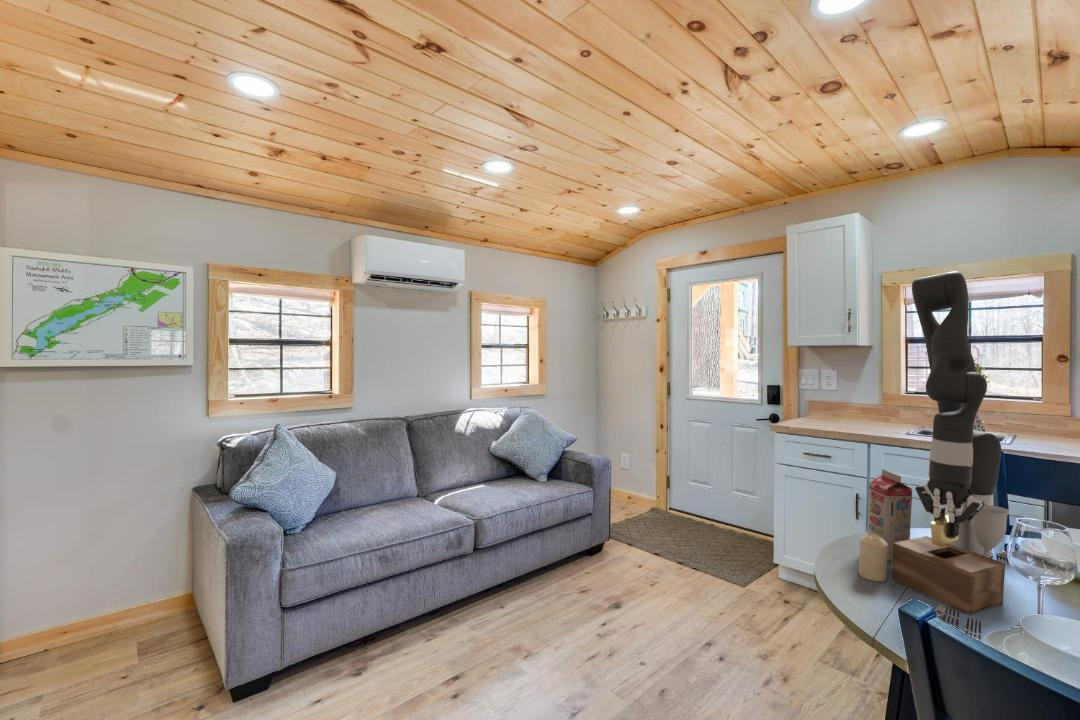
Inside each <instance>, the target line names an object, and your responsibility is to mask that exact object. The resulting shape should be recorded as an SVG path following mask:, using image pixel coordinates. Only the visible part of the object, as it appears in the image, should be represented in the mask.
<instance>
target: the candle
mask: <svg viewBox="0 0 1080 720" xmlns="http://www.w3.org/2000/svg"><path fill="white" fill-rule="evenodd" d="M859 540H860V541H859V542H860V544H859V559H858V560H859V561H858V564H859V565H858V575H860V577H861V578H863V579H866V580H868V581H872V582H877V583H878V582H885V581H886V579H887V569H888V568H887V566H888V561H887V552H888V544H887V543H886V542H885V541H884V540H883V539H882V538H881V537H879V536H877V535H876V534H867V533H866V535H864V536H862V537H861V538H860V539H859Z"/></svg>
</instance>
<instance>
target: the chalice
mask: <svg viewBox="0 0 1080 720" xmlns="http://www.w3.org/2000/svg"><path fill="white" fill-rule="evenodd" d="M1010 513H1011V510H1010V509H1007V508H1005V507H1001V506H997V505H994V504H993V505H987V504H985V505H984V507H983V508H982V509H981V510H980V511H979V512H978V513H977V514H976V515H975V516H974V517H973V518H972V519H971V527H972V530H973V533H974V535H975V537H976V539H977V541H978V543H979V545H981V546H982V547H984V553H983V554H982V556H985V557H988V558H991V559H992V556H991V552H989V551H990V548H991V549H995V548H996V547H997V546H998V545H999V544H1000V543H1001V542H1002V539H1003V538H1004V537H1005V534H1006V533H1007V525H1008V524H1007V522H1008V516H1009V514H1010Z"/></svg>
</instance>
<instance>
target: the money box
mask: <svg viewBox="0 0 1080 720" xmlns="http://www.w3.org/2000/svg"><path fill="white" fill-rule="evenodd" d="M1005 571H1006V563H1005V562H1002V561H1000V560H996V559H994V558H992V557H991V558H988V557H985V556H982V555H979V554H977V553H974V552H971V551H968V550H965V549H962V548H959V547H956V546H954V545H951V544H947V545H945V546H943V547H940V546H937V545H934V544H932V536H931V537H930V536H928V535H924V536H921V537H915V538H910V540H905V541H900V542H895V543H893V558H892V562H891V579H890V580H891V581H892V580H893V581H892V582H894V581H895V583H897V584H899V585H901V586H903V587H906V588H907V589H911V590H913V591H915V592H917V593H919V594H921V595H923V596H925V597H928V598H930V599H933V600H934V601H937V602H939V603H942V604H944V605H945V606H948V607H951V608H953V609H955V610H958V611H960V612H962V613H963V614H966V615H971V614H975V613H978V612H981V611H985V610H987V609H991V608H994V607H998V606H1001V605H1003V604H1004V590H1005V577H1006V576H1005V574H1006V572H1005Z"/></svg>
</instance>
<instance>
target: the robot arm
mask: <svg viewBox="0 0 1080 720" xmlns="http://www.w3.org/2000/svg"><path fill="white" fill-rule="evenodd" d="M911 292H912V298H913V303H914V306H915V310H916V313H917V316H918V319H919V323H920V327H921V330H922V334H923V338H924V339H923V340H924V343H925V348H926V354H927V360H928V365H929V370H930V373H929V374H928V377H927V379H926V380H927V381H926V384H925V392H926V395H927V396H928V397H929V398H930V399H931V400H933V401H935V402H937V407H938V408H937V409H938V413H936V414H934V416H933V423H932V438H931V439H932V440H931V444H930V448H929V449H930V451H929V463H928V465H929V466H928V478H929V480H928V481H927V483H926V484H925V485H919V486H916V487H915V491H916V493H917V496H918V498H919V500H920V501H921V504H922V506H923V508H924V510H925V512H926V513H929V514H931V515H933V518H934V520H933V522H934V521H936V520H938V519H941V518H943V517H945V516H947V515H948V519H949V522H948V538H950V539H953V538H955V537H956V536H958V535H959V539H958V540H956V541H953V542H951V543H949V544H951V545H954V546H956V547H959V548H962V549H965V550H968V551H971V552H974V553H977V554H979V555H982V554H983V553H984V547H982V546H981V545H979V543H978V541H977V539H976V537H975V535H974V533H973V530H972V527H971V519H972V518H973V517H974V516H975V515H976V514H977V513H978V512H979V511H980V510H981V509H982V508H983V507H984V505H985V504H987V505H993V506H994V491H995V487H996V485H997V483H998V481H999V474H1000V467H1001V460H1002V445H1001V442H1000V440H999V438H998V436H996V435H994V434H993V433H990V432H987V431H984V430H983V431H982V430H977V429H974V426H975V420H976V417H977V414H978V412H979V410H980V407H981V404H982V403H983V400H984V398H985V396H986V394H987V390H988V383H987V380H986V378H985V377H984V376H983V375H982V374H981V373H979V372H977V370H976V365H975V360H974V357H973V355H972V353H971V350H970V349H971V348H970V343H969V337H968V331H969V330H968V327H969V290H968V285H967V281H966V279H965V276H964V275H963V273H961V272H960V271H958V270H957V271H955V270H953V271H949V272H943V273H938V274H934V275H933V274H932V275H928V276H924V277H919V278H916V279H914V280H913V281H912V283H911ZM949 309H950V310H949ZM943 310H949V312H948V314H947V315H946V317H945V318H944V319H943V321H941V323H939V322H938V320H937V318H936V316H935V315H934V313H933V312H936V311H943ZM991 550H992V548H990V551H989V552H990V553H991Z"/></svg>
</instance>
